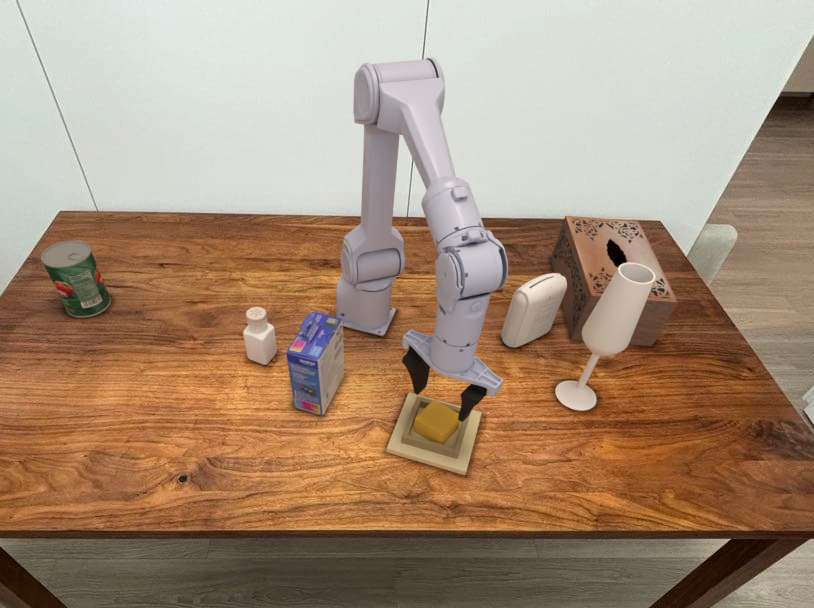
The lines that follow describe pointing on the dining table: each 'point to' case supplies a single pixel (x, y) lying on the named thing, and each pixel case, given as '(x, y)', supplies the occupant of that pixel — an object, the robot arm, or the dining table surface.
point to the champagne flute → (609, 328)
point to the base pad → (432, 453)
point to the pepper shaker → (259, 336)
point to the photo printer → (533, 309)
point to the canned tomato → (76, 278)
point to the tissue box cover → (607, 272)
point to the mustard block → (436, 422)
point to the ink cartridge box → (316, 362)
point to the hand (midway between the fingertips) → (441, 403)
